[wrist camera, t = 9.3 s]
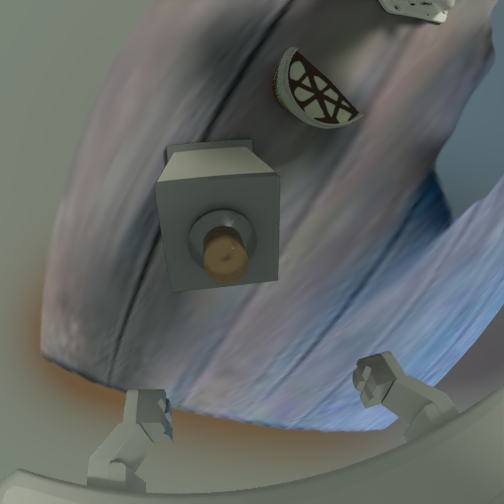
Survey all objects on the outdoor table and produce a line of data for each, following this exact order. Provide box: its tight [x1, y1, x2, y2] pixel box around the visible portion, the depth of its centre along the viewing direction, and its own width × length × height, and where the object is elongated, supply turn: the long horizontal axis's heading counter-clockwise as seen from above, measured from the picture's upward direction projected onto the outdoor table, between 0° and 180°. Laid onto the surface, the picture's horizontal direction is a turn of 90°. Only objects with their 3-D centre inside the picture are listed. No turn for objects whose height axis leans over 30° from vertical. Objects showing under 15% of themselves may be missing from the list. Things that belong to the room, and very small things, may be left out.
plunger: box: [188, 208, 257, 283], centre depth 29 cm, size 7×7×19 cm
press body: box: [155, 139, 280, 292], centre depth 33 cm, size 12×12×20 cm
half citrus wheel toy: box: [273, 47, 364, 129], centre depth 33 cm, size 12×6×10 cm, turn 50°
